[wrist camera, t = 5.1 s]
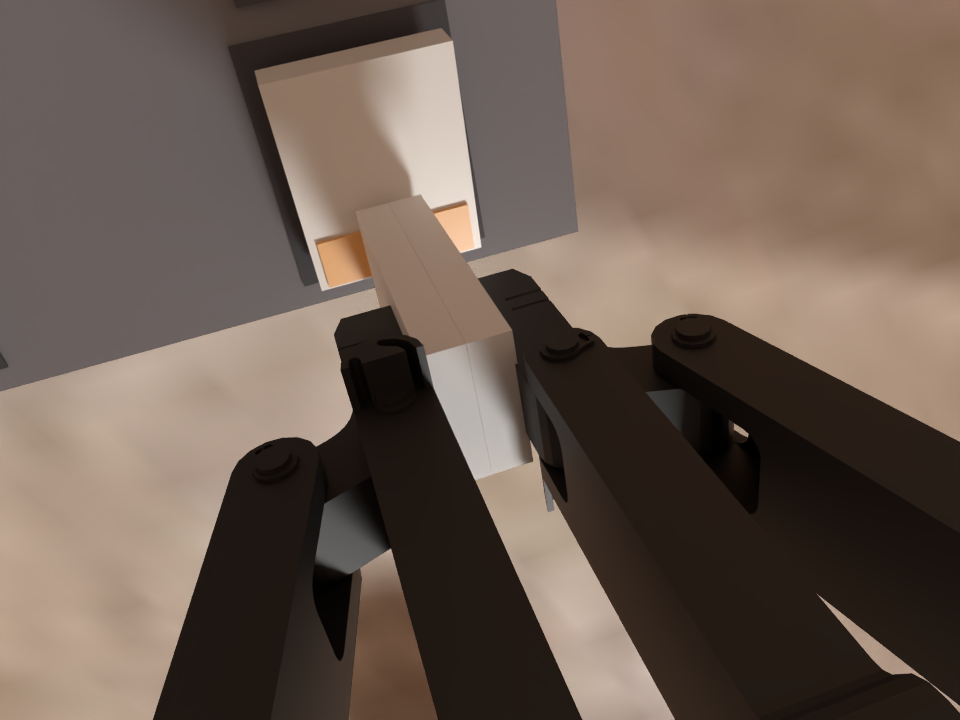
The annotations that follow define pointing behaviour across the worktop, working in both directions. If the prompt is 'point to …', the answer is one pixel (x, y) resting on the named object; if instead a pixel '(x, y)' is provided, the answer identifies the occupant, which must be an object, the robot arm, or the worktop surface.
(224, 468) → the worktop surface
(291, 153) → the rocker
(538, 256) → the worktop surface
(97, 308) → the rocker switch panel
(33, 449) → the worktop surface
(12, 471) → the worktop surface
